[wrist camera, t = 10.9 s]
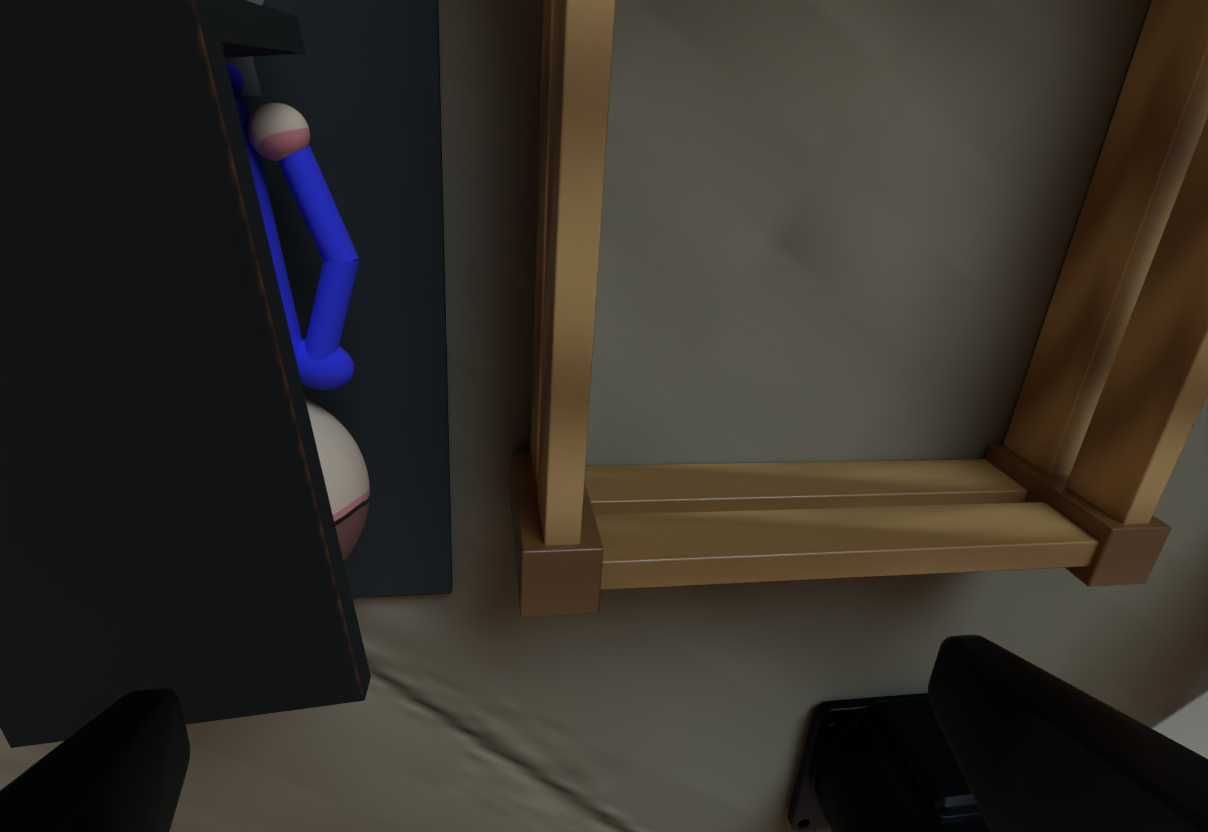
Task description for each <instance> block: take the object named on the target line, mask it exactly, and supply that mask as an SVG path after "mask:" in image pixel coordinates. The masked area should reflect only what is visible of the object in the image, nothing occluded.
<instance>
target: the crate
mask: <svg viewBox="0 0 1208 832" xmlns="http://www.w3.org/2000/svg"><path fill="white" fill-rule="evenodd" d="M614 14H615V0H543V28H542V63H541V98H540V133H539V168H538V203H537V238H536V274H535V309H534V344H533V379H532V414H531V449H530V451H513V452H512V497H511V507H512V520H513V533H514V545H515V558H516V570H517V583H518V596H519V608H520V616H521V617H539V616H557V615H576V614H594V613H598V612H599V602H600V590H609V589H630V588H651V587H671V586H692V585H713V584H733V583H754V582H775V581H796V580H816V579H837V578H858V577H878V576H899V575H920V574H940V573H961V572H982V571H1002V570H1023V569H1044V568H1066V569H1067V570H1068V571H1070V572H1071V573H1072V574H1073V575H1075V576H1076V577H1077V578H1078V579H1080V580H1081V581H1082V582H1083V583H1085V584H1086V585H1087V586H1090V587H1091V586H1109V585H1127V584H1144V583H1146V582H1147V579H1148V577H1149V575H1150V573H1151V571H1152V569H1153V567H1154V565H1155V562H1156V560H1157V558H1158V556H1159V554H1160V552H1161V550H1162V548H1163V545H1164V543H1165V541H1166V539H1167V537H1168V535H1169V533H1170V531H1171V527H1170V526H1169V525H1167V524H1166V523H1164V522H1162V521H1161V520H1159V519H1158V518H1156V517H1154V516H1153V513H1154V511H1155V509H1156V507H1157V504H1158V502H1159V500H1160V498H1161V496H1162V493H1163V491H1164V489H1165V487H1166V484H1167V482H1168V480H1169V478H1170V476H1171V473H1172V471H1173V469H1174V467H1175V465H1176V462H1177V460H1178V458H1179V456H1180V454H1181V451H1182V449H1183V447H1184V445H1185V442H1186V440H1187V438H1188V436H1189V434H1190V431H1191V429H1192V427H1193V425H1194V423H1195V420H1196V418H1197V416H1198V414H1199V412H1200V409H1201V407H1202V405H1203V403H1204V400H1205V398H1206V396H1207V394H1208V0H1152V1H1151V4H1150V7H1149V10H1148V13H1147V16H1146V19H1145V22H1144V25H1143V28H1142V31H1141V34H1140V37H1139V40H1138V43H1137V46H1136V49H1135V52H1134V55H1133V58H1132V61H1131V64H1130V67H1129V70H1128V73H1127V76H1126V79H1125V82H1124V85H1123V88H1122V91H1121V94H1120V97H1119V100H1118V103H1117V106H1116V109H1115V112H1114V114H1113V117H1112V120H1111V123H1110V126H1109V129H1108V132H1107V135H1106V138H1105V141H1104V144H1103V147H1102V150H1101V153H1100V156H1099V159H1098V162H1097V165H1096V168H1095V171H1094V174H1093V177H1092V180H1091V183H1090V186H1089V189H1088V192H1087V195H1086V198H1085V201H1084V204H1083V207H1082V210H1081V213H1080V216H1079V219H1078V222H1077V225H1076V228H1075V231H1074V234H1073V237H1072V240H1071V243H1070V246H1069V249H1068V252H1067V255H1066V258H1065V261H1064V264H1063V267H1062V270H1061V273H1060V276H1059V279H1058V282H1057V285H1056V288H1055V291H1054V294H1053V297H1052V300H1051V303H1050V306H1049V309H1048V312H1047V315H1046V318H1045V321H1044V324H1043V327H1042V330H1041V333H1040V336H1039V339H1038V342H1037V344H1036V347H1035V350H1034V353H1033V356H1032V359H1031V362H1030V365H1029V368H1028V371H1027V374H1026V377H1025V380H1024V383H1023V386H1022V389H1021V392H1020V395H1019V398H1018V401H1017V404H1016V407H1015V410H1014V413H1013V416H1012V419H1011V422H1010V425H1009V428H1008V431H1007V434H1006V437H1005V440H1004V443H1003V445H989V446H988V449H987V452H986V455H985V458H984V459H961V460H901V461H841V462H782V463H722V464H662V465H602V466H585V461H586V446H587V431H588V415H589V400H590V384H591V369H592V353H593V338H594V322H595V307H596V292H597V276H598V261H599V245H600V230H601V214H602V199H603V183H604V168H605V153H606V137H607V122H608V106H609V91H610V75H611V60H612V44H613V29H614Z"/></svg>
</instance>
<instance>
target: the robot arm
mask: <svg viewBox="0 0 1208 832" xmlns="http://www.w3.org/2000/svg"><path fill="white" fill-rule="evenodd" d="M189 758H190V743H189V738H188V734H187V730H186V726H185V722H184V718H183V714H182V710H181V706H180V701H179V698H178V696H177V694H176V692H175V691H174V690H172V689H168V688H161V689H146V690H135V691H131V692H129V693H127V694H125V695H124V696H122V697H121V698H120V699H118V700H117V701H116V702H114V703H113V704H112V705H111V706H109V707H108V708H107V709H105V710H104V711H103V712H101V713H100V714H99V715H98V716H96V717H95V718H94V719H92V720H91V721H90V722H88V723H87V724H86V725H85V726H83V727H82V728H81V729H79V730H78V731H77V732H76V733H74V734H73V735H72V736H70V737H69V738H68V739H66V740H65V741H64V742H63V743H61V744H60V745H59V746H57V747H56V748H55V749H53V750H52V751H51V752H50V753H48V754H47V755H46V756H44V757H43V758H42V759H40V760H39V761H38V762H37V763H35V764H34V765H33V766H31V767H30V768H29V769H27V770H26V771H25V772H24V773H22V774H21V775H20V776H18V777H17V778H16V779H14V780H13V781H12V782H11V783H9V784H8V785H7V786H5V787H4V788H3V789H2V790H0V832H169V831H170V828H171V824H172V821H173V817H174V814H175V810H176V807H177V803H178V800H179V796H180V793H181V789H182V786H183V783H184V779H185V776H186V772H187V769H188V764H189ZM788 820H789V822H790V825H791V827H792V829H793V830H794V831H796V832H805V831H814V830H822V829H831V831H832V832H1208V759H1206V758H1205V757H1203V756H1201V755H1199V754H1197V753H1195V752H1194V751H1192V750H1190V749H1188V748H1186V747H1184V746H1183V745H1181V744H1179V743H1177V742H1175V741H1173V740H1171V739H1169V738H1168V737H1166V736H1164V735H1162V734H1160V733H1158V732H1157V731H1155V730H1153V729H1151V728H1149V727H1148V726H1146V725H1144V724H1142V723H1140V722H1138V721H1137V720H1135V719H1133V718H1131V717H1129V716H1127V715H1125V714H1124V713H1122V712H1120V711H1118V710H1116V709H1114V708H1113V707H1111V706H1109V705H1107V704H1105V703H1103V702H1102V701H1100V700H1098V699H1096V698H1094V697H1092V696H1091V695H1089V694H1087V693H1085V692H1083V691H1081V690H1079V689H1078V688H1076V687H1074V686H1072V685H1070V684H1068V683H1067V682H1065V681H1063V680H1061V679H1059V678H1057V677H1056V676H1054V675H1052V674H1050V673H1048V672H1046V671H1045V670H1043V669H1041V668H1039V667H1037V666H1035V665H1033V664H1032V663H1030V662H1028V661H1026V660H1024V659H1022V658H1021V657H1019V656H1017V655H1015V654H1013V653H1011V652H1010V651H1008V650H1006V649H1004V648H1002V647H1000V646H999V645H997V644H995V643H993V642H991V641H989V640H987V639H986V638H984V637H982V636H979V635H959V636H950V637H947V638H946V639H945V640H944V641H943V642H942V643H941V646H940V649H939V652H938V655H937V658H936V661H935V664H934V668H933V671H932V674H931V677H930V680H929V684H928V693H924V694H911V695H899V696H887V697H874V698H862V699H850V700H838V701H828V702H824V703H822V704H820V705H819V706H818V707H817V708H816V710H815V712H814V715H813V719H812V723H811V727H810V730H809V734H808V738H807V742H806V746H805V750H804V754H803V758H802V762H801V766H800V769H799V773H798V777H797V781H796V785H795V789H794V793H793V797H792V801H791V804H790V808H789V812H788Z"/></svg>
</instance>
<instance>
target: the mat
mask: <svg viewBox="0 0 1208 832" xmlns="http://www.w3.org/2000/svg"><path fill="white" fill-rule="evenodd" d="M262 6H265V7H269V8H272V9H275V10H278V11H281V12H284V13H288V14H291V15H294V16H297V17H298V19H299V24H300V29H301V33H302V38H303V43H304V48H305V52H306V54H287V55H268V56H253V59H254V64H255V68H256V72H257V77H258V81H259V86H260V90H261V95H262V98H261V100H260V103H259V106H258V107H260V106H262V105H264V104H268V103H282V104H286V105H288V106H291V107H292V108H294V109H295V110H297V111H298V112H299V113H300V114H301V115H302V116H303V117H304V119H305V120H306V122H307V124H308V127H309V131H310V141H309V145H310V148H311V150H312V152H313V155H314V157H315V159H316V161H317V164H318V166H319V168H320V171H321V173H322V175H323V177H324V180H325V182H326V184H327V186H328V189H329V191H330V193H331V196H332V198H333V200H334V202H335V205H336V207H337V209H338V212H339V214H340V216H341V218H342V221H343V223H344V225H345V227H346V230H347V232H348V234H349V237H350V239H351V241H352V243H353V246H354V248H355V250H356V253H357V255H358V257H359V258H358V259H357V260H359V265H358V269H357V273H356V277H355V281H354V286H353V290H352V294H351V298H350V302H349V307H348V311H347V315H346V319H345V323H344V327H343V332H342V336H341V340H340V344H339V346H340V347H341V348H342V349H344V350H345V351H346V352H347V353H348V354H349V356H350V357H351V359H352V361H353V363H354V374H353V377H352V378H351V380H350V381H349V382H348V383H347V384H345V385H344V386H342V387H339V388H336V389H330V390H321V389H315V388H311V387H308V386H305V385H303V384H302V387H303V391H304V395H305V399H307V400H309V401H311V402H313V403H315V404H317V405H318V406H320V407H321V408H323V409H324V410H326V411H327V412H329V413H330V414H331V415H332V416H334V417H335V418H336V419H337V420H338V421H339V422H340V423H341V424H342V425H343V426H344V427H345V428H346V430H347V431H348V432H349V433H350V435H351V436H352V437H353V439H354V441H355V442H356V444H357V446H358V447H359V450H360V452H361V454H362V456H363V458H364V461H365V465H366V468H367V472H368V478H369V487H370V501H369V509H368V514H367V518H366V522H365V525H364V528H363V530H362V533H361V535H360V537H359V539H358V541H357V543H356V545H355V547H354V548H353V550H352V551H351V553H350V554H349V556H348V557H347V558H346V560H345V561H344V565H345V570H346V574H347V578H348V582H349V587H350V591H351V595H352V598H366V597H387V596H408V595H429V594H450V593H452V549H451V508H450V467H449V426H448V386H447V345H446V304H445V263H444V223H443V182H442V141H441V100H440V59H439V19H438V0H264V1H263V4H262ZM259 156H260V160H261V164H262V168H263V173H264V177H265V181H266V186H267V190H268V194H269V198H270V203H271V207H272V211H273V216H274V220H275V224H276V229H277V233H278V237H279V241H280V246H281V250H282V254H283V259H284V263H285V267H286V271H287V276H288V280H289V284H290V289H291V293H292V297H293V301H294V306H295V310H296V314H297V319H298V323H299V327H300V332H301V336H302V340H305V339H306V336H307V332H308V327H309V323H310V318H311V314H312V309H313V305H314V301H315V296H316V292H317V287H318V283H319V278H320V274H321V270H322V265H323V259H322V256H321V254H320V252H319V250H318V248H317V246H316V243H315V241H314V239H313V237H312V235H311V232H310V230H309V228H308V226H307V224H306V221H305V219H304V217H303V215H302V213H301V211H300V208H299V206H298V204H297V202H296V200H295V197H294V195H293V193H292V191H291V189H290V186H289V184H288V182H287V180H286V178H285V176H284V173H283V171H282V169H281V167H280V165H279V162H277V161H273V160H270V159H267V158H265V157H263V156H262V155H261V154H259Z"/></svg>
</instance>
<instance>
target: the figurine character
mask: <svg viewBox="0 0 1208 832" xmlns="http://www.w3.org/2000/svg"><path fill="white" fill-rule="evenodd" d="M263 1H264V0H0V727H1V729H2V731H3V733H4V735H5V737H6V739H7V741H8V743H9V745H10V747H11V748H14V747H21V746H29V745H36V744H44V743H51V742H59V741H65V740H66V739H68V738H69V737H70V736H72V735H73V734H74V733H76V732H77V731H78V730H79V729H81V728H82V727H83V726H85V725H86V724H87V723H88V722H90V721H91V720H92V719H94V718H95V717H96V716H98V715H99V714H100V713H101V712H103V711H104V710H105V709H107V708H108V707H109V706H111V705H112V704H113V703H114V702H116V701H117V700H118V699H120V698H121V697H122V696H124V695H125V694H127V693H129V692H131V691H135V690H146V689H161V688H168V689H172V690H174V691H175V692H176V694H177V696H178V698H179V701H180V706H181V710H182V714H183V718H184V722H185V724H193V723H200V722H208V721H215V720H223V719H230V718H238V717H245V716H253V715H260V714H267V713H275V712H282V711H290V710H297V709H305V708H312V707H320V706H327V705H335V704H342V703H349V702H357V701H364V700H365V697H366V693H367V689H368V685H369V682H370V678H371V676H370V672H369V667H368V663H367V659H366V655H365V650H364V646H363V642H362V638H361V633H360V629H359V625H358V621H357V616H356V612H355V608H354V604H353V599H352V595H351V591H350V587H349V582H348V578H347V574H346V570H345V565H344V561H345V560H346V558H347V557H348V556H349V554H350V553H351V551H352V550H353V548H354V547H355V545H356V543H357V541H358V539H359V537H360V535H361V533H362V530H363V528H364V525H365V522H366V518H367V514H368V509H369V501H370V487H369V478H368V472H367V468H366V465H365V461H364V458H363V456H362V454H361V452H360V450H359V447H358V446H357V444H356V442H355V441H354V439H353V437H352V436H351V435H350V433H349V432H348V431H347V430H346V428H345V427H344V426H343V425H342V424H341V423H340V422H339V421H338V420H337V419H336V418H335V417H334V416H332V415H331V414H330V413H329V412H327V411H326V410H324V409H323V408H321V407H320V406H318V405H317V404H315V403H313V402H311V401H309V400H307V399H305V395H304V391H303V387H302V384H303V385H305V386H308V387H311V388H315V389H321V390H330V389H336V388H339V387H342V386H344V385H345V384H347V383H348V382H349V381H350V380H351V378H352V377H353V374H354V363H353V361H352V359H351V357H350V356H349V354H348V353H347V352H346V351H345V350H344V349H342V348H341V347H340V346H339V344H340V340H341V336H342V332H343V327H344V323H345V319H346V315H347V311H348V307H349V302H350V298H351V294H352V290H353V286H354V281H355V277H356V273H357V269H358V265H359V260H357V259H358V258H359V257H358V255H357V253H356V250H355V248H354V246H353V243H352V241H351V239H350V237H349V234H348V232H347V230H346V227H345V225H344V223H343V221H342V218H341V216H340V214H339V212H338V209H337V207H336V205H335V202H334V200H333V198H332V196H331V193H330V191H329V189H328V186H327V184H326V182H325V180H324V177H323V175H322V173H321V171H320V168H319V166H318V164H317V161H316V159H315V157H314V155H313V152H312V150H311V148H310V145H309V141H310V131H309V127H308V124H307V122H306V120H305V119H304V117H303V116H302V115H301V114H300V113H299V112H298V111H297V110H295V109H294V108H292V107H291V106H288V105H286V104H282V103H268V104H264V105H262V106H260V107H258V106H259V103H260V100H261V98H262V95H261V90H260V86H259V81H258V77H257V72H256V68H255V64H254V59H253V56H268V55H287V54H306V52H305V48H304V43H303V38H302V33H301V29H300V24H299V19H298V17H297V16H294V15H291V14H288V13H284V12H281V11H278V10H275V9H272V8H269V7H265V6H262V4H263ZM259 154H261V155H262V156H263V157H265V158H267V159H270V160H273V161H277V162H279V165H280V167H281V169H282V171H283V173H284V176H285V178H286V180H287V182H288V184H289V186H290V189H291V191H292V193H293V195H294V197H295V200H296V202H297V204H298V206H299V208H300V211H301V213H302V215H303V217H304V219H305V221H306V224H307V226H308V228H309V230H310V232H311V235H312V237H313V239H314V241H315V243H316V246H317V248H318V250H319V252H320V254H321V256H322V259H323V265H322V270H321V274H320V278H319V283H318V287H317V292H316V296H315V301H314V305H313V309H312V314H311V318H310V323H309V327H308V332H307V336H306V339H305V340H302V336H301V332H300V327H299V323H298V319H297V314H296V310H295V306H294V301H293V297H292V293H291V289H290V284H289V280H288V276H287V271H286V267H285V263H284V259H283V254H282V250H281V246H280V241H279V237H278V233H277V229H276V224H275V220H274V216H273V211H272V207H271V203H270V198H269V194H268V190H267V186H266V181H265V177H264V173H263V168H262V164H261V160H260V156H259Z"/></svg>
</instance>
